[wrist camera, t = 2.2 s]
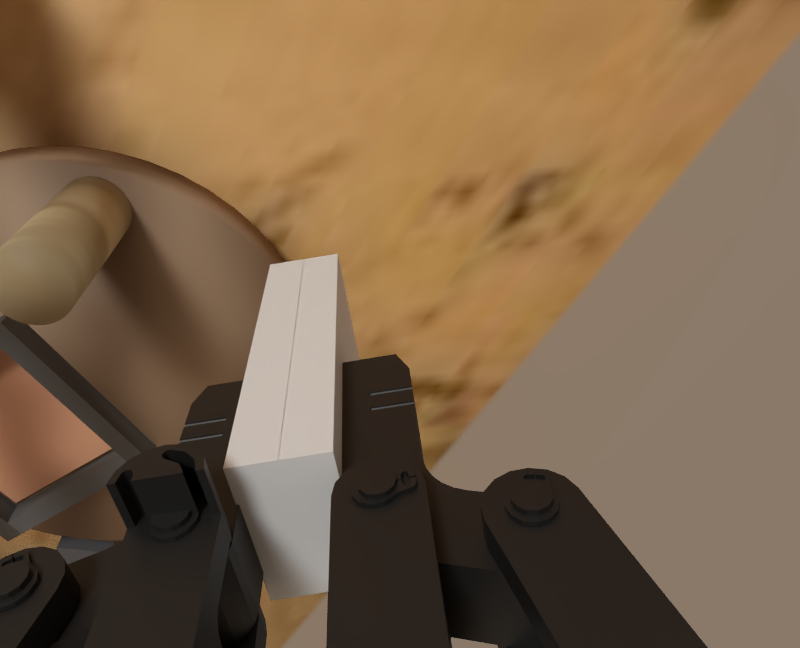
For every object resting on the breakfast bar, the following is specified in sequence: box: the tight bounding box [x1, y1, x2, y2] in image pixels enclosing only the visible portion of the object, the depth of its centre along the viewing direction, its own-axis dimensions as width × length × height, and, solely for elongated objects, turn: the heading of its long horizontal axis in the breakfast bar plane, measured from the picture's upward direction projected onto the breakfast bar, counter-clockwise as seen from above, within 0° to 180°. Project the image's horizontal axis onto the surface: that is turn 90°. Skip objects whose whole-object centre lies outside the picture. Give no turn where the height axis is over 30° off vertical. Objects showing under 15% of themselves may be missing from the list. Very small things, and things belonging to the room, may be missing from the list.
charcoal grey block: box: [57, 536, 123, 564], centre depth 34 cm, size 2×3×3 cm
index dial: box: [0, 146, 284, 541], centre depth 25 cm, size 18×18×8 cm
